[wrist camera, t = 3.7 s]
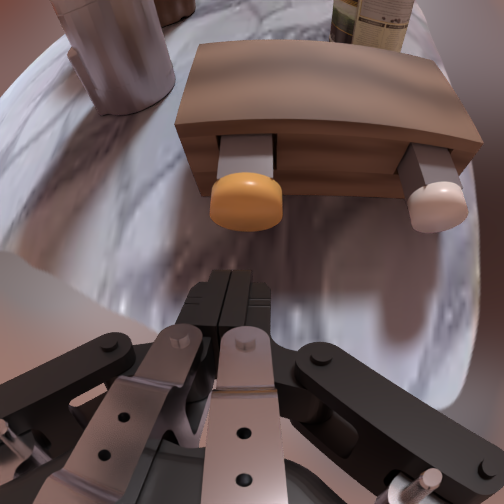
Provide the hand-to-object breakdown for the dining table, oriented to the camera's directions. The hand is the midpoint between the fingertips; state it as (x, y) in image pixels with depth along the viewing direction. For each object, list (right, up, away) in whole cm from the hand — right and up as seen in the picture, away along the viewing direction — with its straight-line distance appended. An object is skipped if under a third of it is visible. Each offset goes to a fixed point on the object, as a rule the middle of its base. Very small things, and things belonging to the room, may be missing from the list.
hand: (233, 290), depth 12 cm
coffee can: (+16, +30, +20) cm, 39 cm away
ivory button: (+12, +6, +7) cm, 16 cm away
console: (+7, +10, +12) cm, 18 cm away
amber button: (+1, +6, +8) cm, 10 cm away
